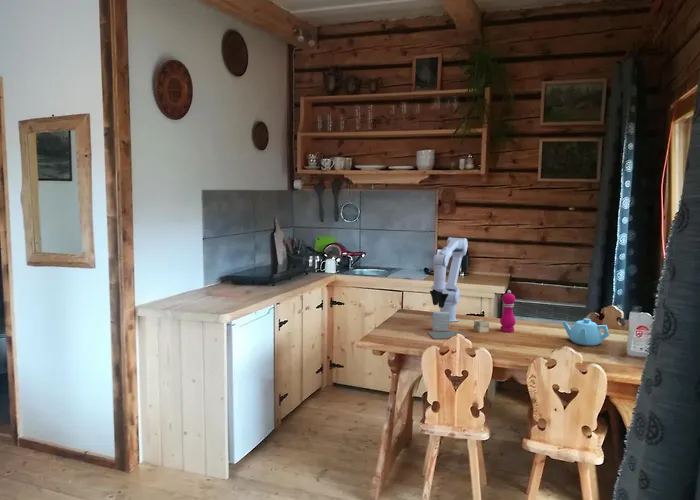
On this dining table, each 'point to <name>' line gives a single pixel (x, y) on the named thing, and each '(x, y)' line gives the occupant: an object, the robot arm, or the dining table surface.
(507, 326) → the pepper mill
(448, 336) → the mat
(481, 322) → the beech block
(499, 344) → the dining table surface
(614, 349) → the dining table surface
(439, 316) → the medicine box
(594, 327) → the teapot
